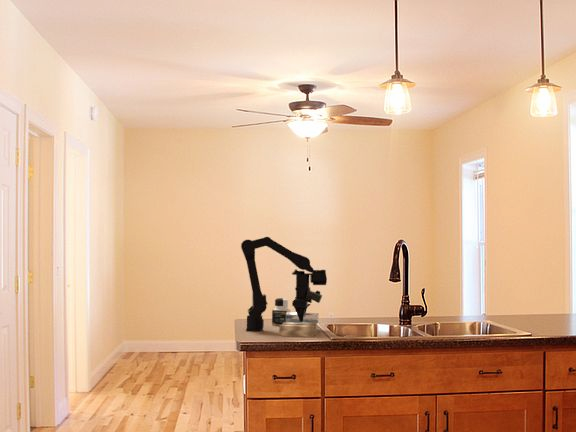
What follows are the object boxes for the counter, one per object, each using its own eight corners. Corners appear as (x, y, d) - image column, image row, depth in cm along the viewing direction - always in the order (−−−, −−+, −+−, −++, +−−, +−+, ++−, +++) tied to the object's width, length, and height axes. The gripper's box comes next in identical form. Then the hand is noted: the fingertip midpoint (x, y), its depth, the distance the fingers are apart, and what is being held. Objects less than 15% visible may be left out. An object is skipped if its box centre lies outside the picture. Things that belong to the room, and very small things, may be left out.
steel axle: (285, 322, 297) (285, 312, 297) (287, 321, 301) (287, 311, 301) (317, 324, 294) (317, 313, 294) (318, 322, 299) (318, 312, 299)
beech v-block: (279, 335, 281) (279, 325, 282) (283, 331, 292) (283, 322, 292) (313, 336, 279) (313, 326, 279) (316, 332, 290) (316, 323, 290)
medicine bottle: (271, 325, 313) (272, 298, 313) (275, 323, 320) (276, 297, 320) (286, 325, 311) (287, 299, 312) (290, 323, 318) (290, 298, 319)
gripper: (318, 287, 288) (318, 324, 287) (323, 284, 306) (322, 319, 306) (292, 286, 289) (291, 323, 289) (298, 283, 308) (298, 318, 307)
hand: (302, 321), depth 298 cm, fingers closed on steel axle, 4 cm apart
